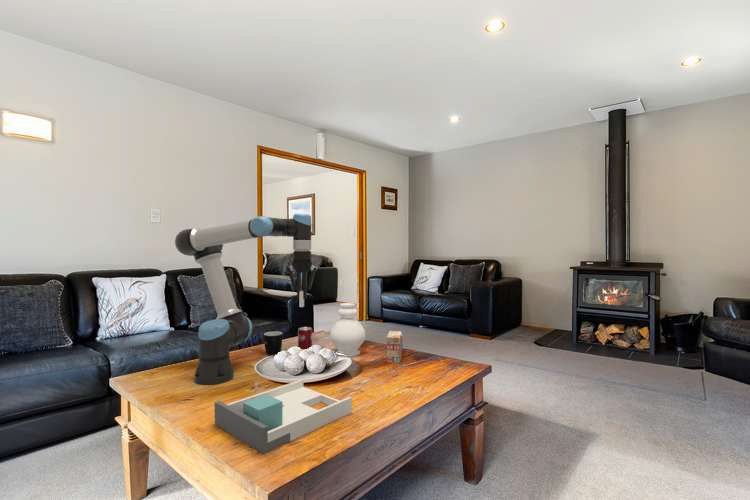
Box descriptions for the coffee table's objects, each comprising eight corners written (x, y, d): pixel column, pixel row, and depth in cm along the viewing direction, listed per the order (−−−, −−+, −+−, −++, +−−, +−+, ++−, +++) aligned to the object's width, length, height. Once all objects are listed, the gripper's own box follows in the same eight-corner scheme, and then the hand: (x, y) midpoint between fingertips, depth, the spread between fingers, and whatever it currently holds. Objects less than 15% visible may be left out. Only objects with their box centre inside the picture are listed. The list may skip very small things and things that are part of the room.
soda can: (300, 354, 199) (300, 330, 198) (296, 350, 205) (296, 327, 205) (314, 352, 202) (314, 329, 202) (309, 349, 208) (309, 326, 208)
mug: (263, 351, 203) (263, 332, 203) (281, 350, 206) (281, 330, 206) (264, 358, 192) (264, 337, 191) (283, 356, 194) (283, 336, 194)
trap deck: (301, 392, 149) (301, 374, 149) (351, 412, 132) (351, 391, 132) (214, 424, 123) (214, 402, 123) (262, 454, 106) (262, 428, 106)
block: (266, 417, 123) (266, 394, 123) (282, 424, 118) (282, 401, 117) (243, 426, 117) (243, 402, 116) (258, 434, 111) (258, 410, 111)
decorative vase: (355, 360, 190) (355, 307, 189) (323, 355, 197) (323, 305, 196) (371, 350, 206) (371, 302, 205) (340, 346, 213) (340, 300, 212)
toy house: (390, 350, 207) (390, 326, 207) (402, 350, 206) (402, 327, 206) (386, 362, 186) (386, 336, 186) (399, 363, 185) (400, 337, 185)
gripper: (319, 250, 171) (318, 305, 171) (288, 250, 171) (288, 304, 171) (316, 251, 163) (315, 308, 164) (284, 250, 163) (284, 307, 164)
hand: (301, 306), depth 168 cm, fingers closed
